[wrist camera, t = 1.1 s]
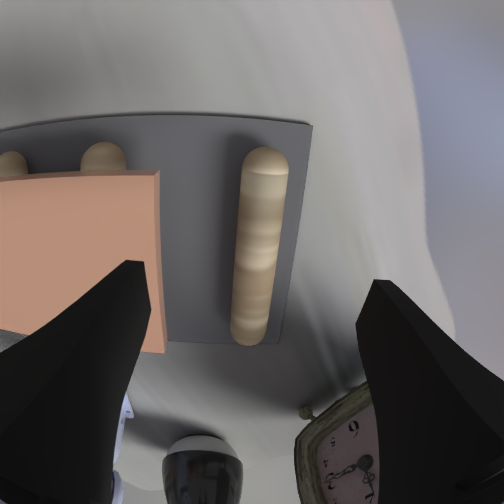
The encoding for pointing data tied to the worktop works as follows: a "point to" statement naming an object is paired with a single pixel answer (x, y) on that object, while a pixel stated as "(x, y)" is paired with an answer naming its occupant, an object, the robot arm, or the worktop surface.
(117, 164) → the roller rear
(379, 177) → the worktop surface
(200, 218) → the mat
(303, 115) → the worktop surface
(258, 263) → the roller
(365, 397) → the tabletop clock
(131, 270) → the robot arm
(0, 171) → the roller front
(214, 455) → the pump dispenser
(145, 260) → the slab
